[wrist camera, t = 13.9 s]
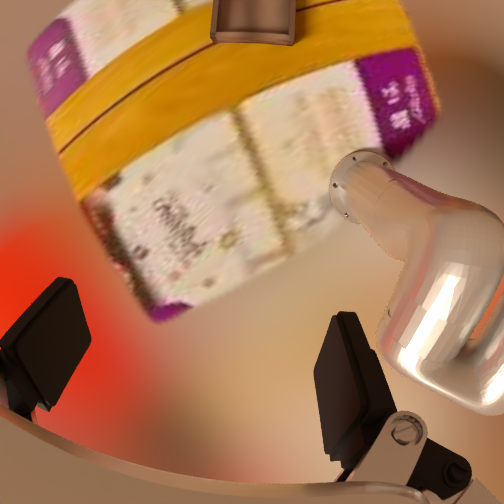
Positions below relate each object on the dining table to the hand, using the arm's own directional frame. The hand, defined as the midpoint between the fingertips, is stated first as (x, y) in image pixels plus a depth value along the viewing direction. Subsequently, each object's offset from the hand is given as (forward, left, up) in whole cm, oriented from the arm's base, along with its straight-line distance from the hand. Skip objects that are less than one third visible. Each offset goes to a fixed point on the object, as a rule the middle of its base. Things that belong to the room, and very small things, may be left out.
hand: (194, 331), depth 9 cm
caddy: (0, -32, -38) cm, 50 cm away
